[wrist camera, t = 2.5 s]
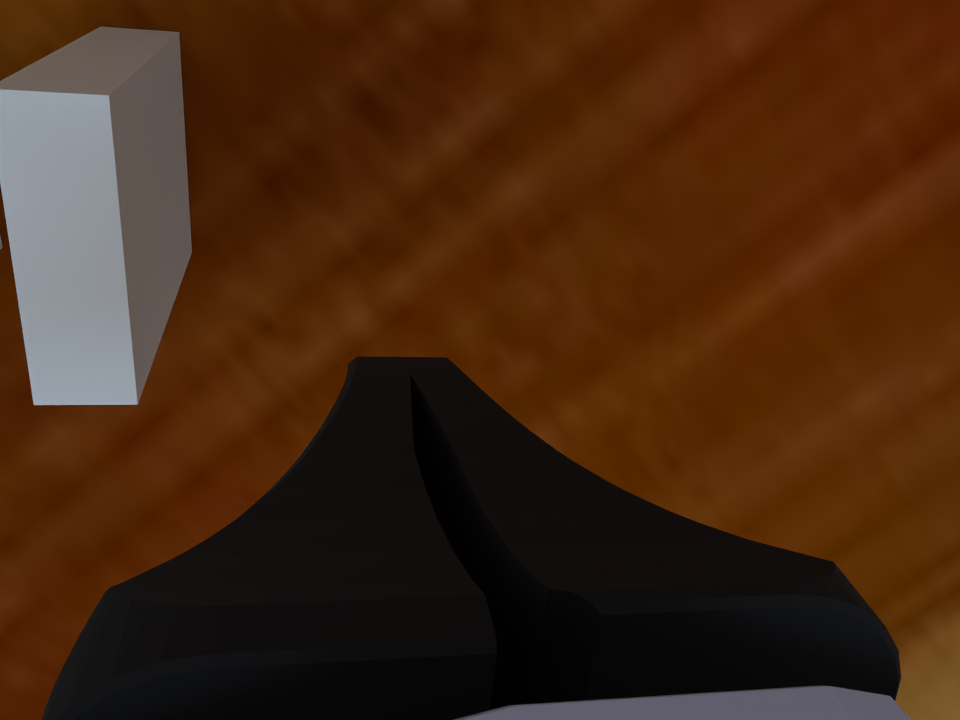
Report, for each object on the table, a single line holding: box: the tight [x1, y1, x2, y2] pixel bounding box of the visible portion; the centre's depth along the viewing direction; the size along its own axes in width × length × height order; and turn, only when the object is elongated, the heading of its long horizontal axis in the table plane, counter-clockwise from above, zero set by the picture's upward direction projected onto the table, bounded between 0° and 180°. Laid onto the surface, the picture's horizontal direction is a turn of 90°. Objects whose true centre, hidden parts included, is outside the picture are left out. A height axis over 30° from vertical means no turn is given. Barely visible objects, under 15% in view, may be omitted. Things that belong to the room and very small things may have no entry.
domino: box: [0, 27, 192, 405], centre depth 17 cm, size 2×5×8 cm, turn 174°
